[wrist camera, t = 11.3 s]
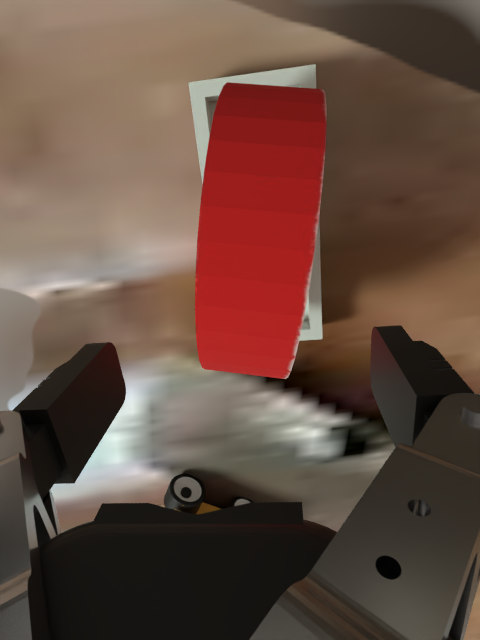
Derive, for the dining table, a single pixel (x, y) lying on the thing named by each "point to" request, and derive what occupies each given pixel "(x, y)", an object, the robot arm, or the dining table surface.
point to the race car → (191, 496)
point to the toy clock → (258, 226)
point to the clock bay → (203, 112)
